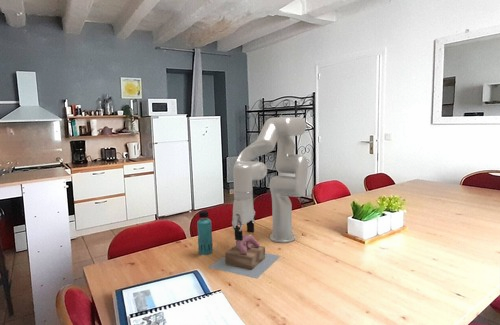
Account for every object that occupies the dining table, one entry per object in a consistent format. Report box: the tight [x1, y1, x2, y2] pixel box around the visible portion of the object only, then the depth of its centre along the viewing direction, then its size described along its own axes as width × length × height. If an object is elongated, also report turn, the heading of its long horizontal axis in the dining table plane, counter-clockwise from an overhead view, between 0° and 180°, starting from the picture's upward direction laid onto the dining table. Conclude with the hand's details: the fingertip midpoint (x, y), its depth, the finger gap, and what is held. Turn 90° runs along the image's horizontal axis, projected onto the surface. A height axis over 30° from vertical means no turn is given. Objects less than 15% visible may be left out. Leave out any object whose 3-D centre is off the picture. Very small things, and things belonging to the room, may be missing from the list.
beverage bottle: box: [196, 210, 214, 256], centre depth 143 cm, size 6×7×20 cm
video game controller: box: [235, 234, 261, 255], centre depth 132 cm, size 10×5×7 cm, turn 142°
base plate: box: [208, 252, 282, 279], centre depth 133 cm, size 22×22×2 cm
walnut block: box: [224, 243, 266, 270], centre depth 133 cm, size 12×12×5 cm
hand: (244, 236), depth 132 cm, fingers open, 9 cm apart
